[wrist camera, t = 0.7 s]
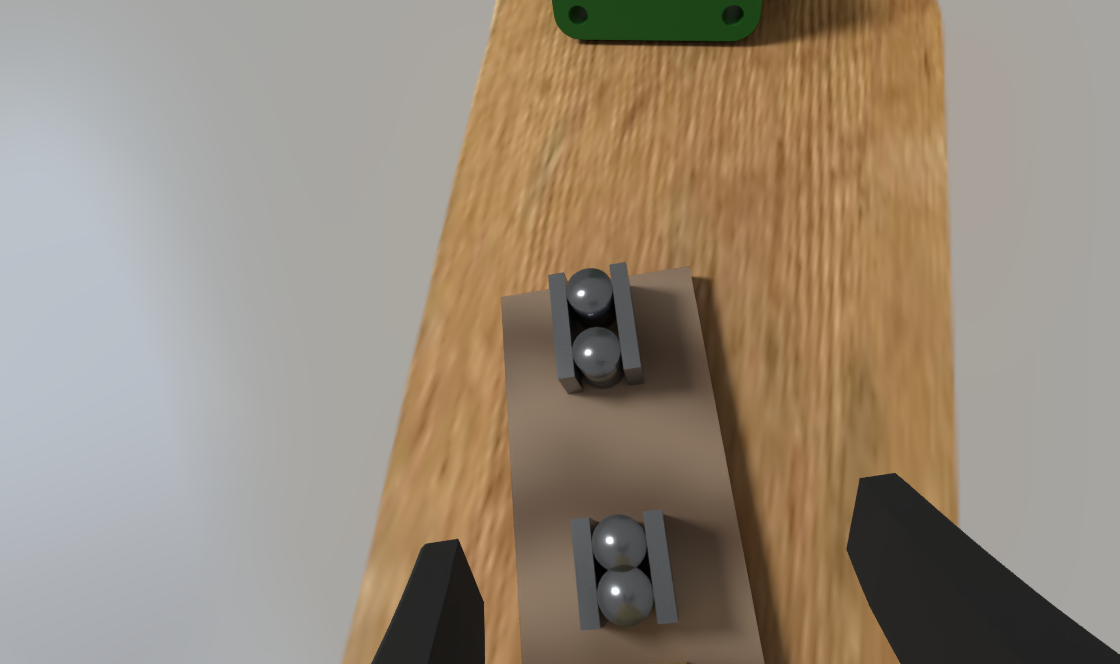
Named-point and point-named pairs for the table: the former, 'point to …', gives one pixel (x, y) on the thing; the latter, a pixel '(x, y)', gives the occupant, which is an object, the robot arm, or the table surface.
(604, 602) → the steel ball guide
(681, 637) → the board
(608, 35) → the clamp
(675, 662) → the brushed brass block
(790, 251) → the table surface
